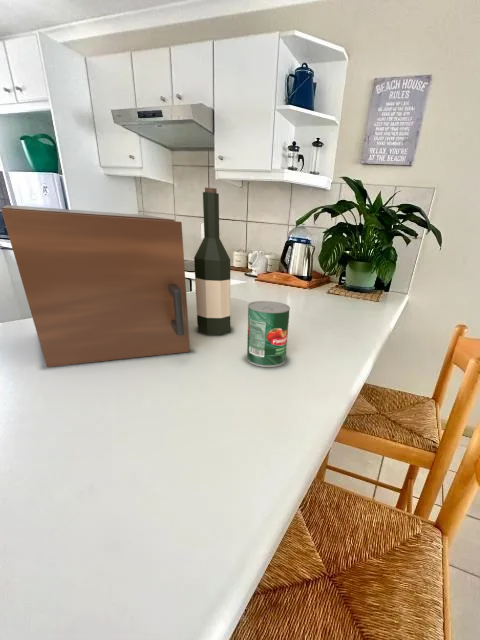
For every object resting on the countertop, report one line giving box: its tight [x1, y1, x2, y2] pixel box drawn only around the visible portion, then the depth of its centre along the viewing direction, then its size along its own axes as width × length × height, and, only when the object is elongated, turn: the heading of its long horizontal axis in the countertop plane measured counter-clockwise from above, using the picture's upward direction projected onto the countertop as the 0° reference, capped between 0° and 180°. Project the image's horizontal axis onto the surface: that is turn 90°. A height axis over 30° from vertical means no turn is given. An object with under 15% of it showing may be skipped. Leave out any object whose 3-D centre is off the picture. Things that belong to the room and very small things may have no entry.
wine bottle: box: [193, 187, 231, 336], centre depth 72 cm, size 8×8×30 cm
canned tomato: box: [246, 300, 291, 368], centre depth 63 cm, size 8×8×11 cm
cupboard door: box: [0, 208, 191, 368], centre depth 53 cm, size 6×24×24 cm, turn 118°
